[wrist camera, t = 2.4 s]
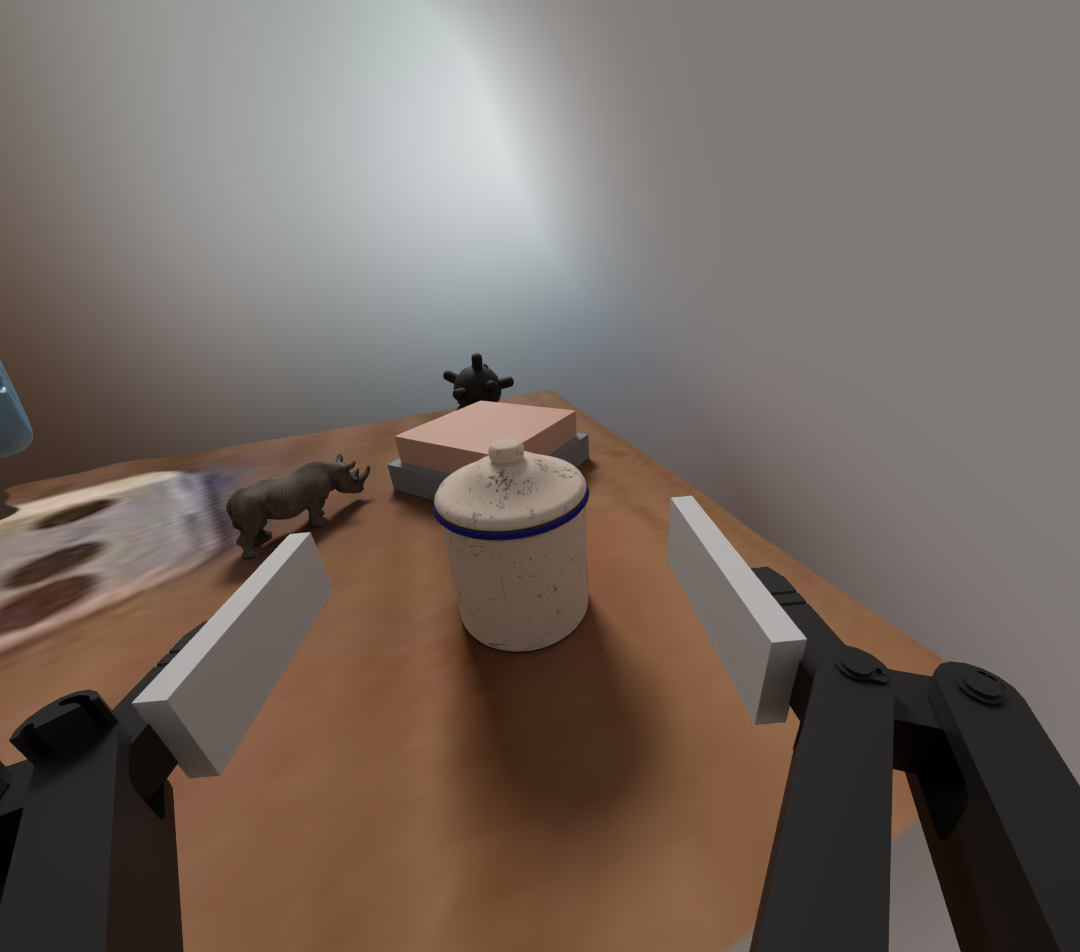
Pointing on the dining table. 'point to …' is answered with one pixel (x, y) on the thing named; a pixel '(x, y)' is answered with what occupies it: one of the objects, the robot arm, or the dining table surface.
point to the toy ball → (477, 383)
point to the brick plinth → (481, 442)
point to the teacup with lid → (516, 546)
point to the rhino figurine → (289, 499)
